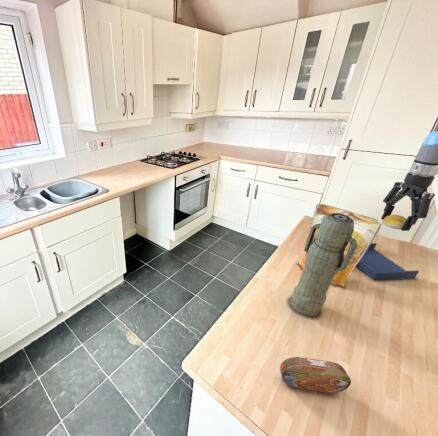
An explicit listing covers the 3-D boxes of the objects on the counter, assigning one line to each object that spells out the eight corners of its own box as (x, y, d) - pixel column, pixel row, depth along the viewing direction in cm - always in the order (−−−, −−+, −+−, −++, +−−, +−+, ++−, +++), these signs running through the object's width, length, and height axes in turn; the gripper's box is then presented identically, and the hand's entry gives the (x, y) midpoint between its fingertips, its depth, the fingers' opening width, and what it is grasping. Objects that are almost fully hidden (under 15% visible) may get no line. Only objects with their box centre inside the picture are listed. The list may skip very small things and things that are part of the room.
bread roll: (379, 225, 104) (383, 216, 102) (384, 218, 109) (388, 210, 107) (405, 232, 99) (410, 224, 97) (410, 225, 103) (414, 217, 101)
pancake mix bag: (300, 258, 106) (321, 200, 92) (352, 284, 92) (385, 219, 78) (292, 264, 103) (312, 205, 89) (344, 291, 89) (377, 226, 75)
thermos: (315, 325, 77) (359, 230, 60) (280, 300, 86) (310, 213, 69) (329, 312, 81) (374, 221, 64) (294, 290, 90) (325, 205, 73)
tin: (278, 384, 62) (286, 365, 58) (275, 372, 64) (282, 352, 60) (344, 396, 59) (358, 376, 55) (338, 382, 62) (350, 363, 58)
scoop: (372, 249, 111) (375, 243, 109) (414, 278, 94) (419, 271, 92) (317, 251, 110) (320, 245, 109) (350, 281, 93) (353, 274, 92)
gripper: (387, 166, 103) (365, 213, 113) (442, 184, 84) (410, 238, 94) (404, 165, 103) (381, 212, 113) (463, 183, 84) (429, 238, 94)
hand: (394, 224), depth 104 cm, fingers closed on bread roll, 9 cm apart
